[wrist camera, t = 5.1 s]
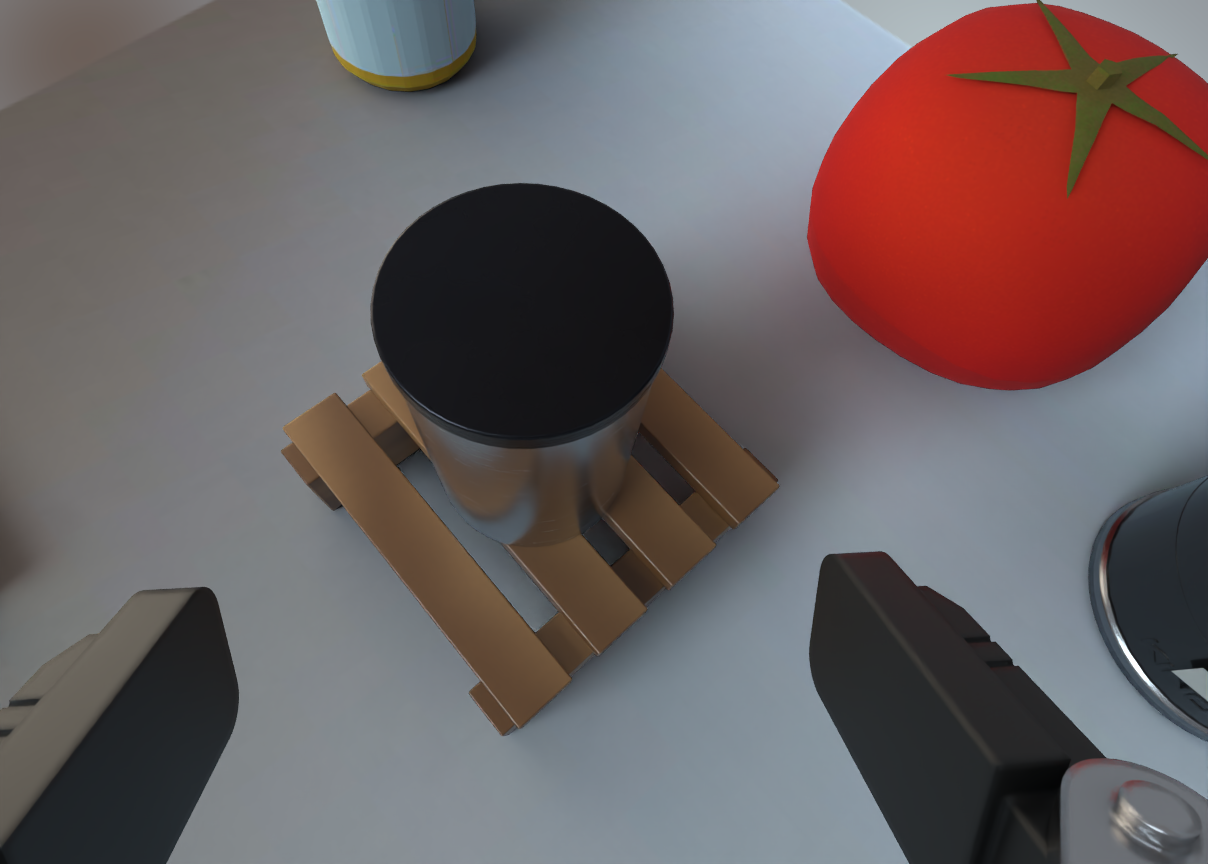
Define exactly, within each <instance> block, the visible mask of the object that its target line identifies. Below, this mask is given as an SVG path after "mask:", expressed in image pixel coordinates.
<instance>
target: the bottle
mask: <svg viewBox="0 0 1208 864" xmlns="http://www.w3.org/2000/svg"><path fill="white" fill-rule="evenodd" d="M316 1H317V4H318V7H319V10H320V13H321V16H322V20H323V23H324V26H325V29H326V32H327V35H328V38H329V41H330V43H331V45H332V48H333V52H334V54H335V56H336V58H337V59H338V60H339V61H340V63H341V64H342V65H343V66H344V68H346V69H347V70H348V71H349V72H351V73H353V74H354V75H356V76H357V77H359V78H360V79H362V80H364V81H366V82H368V83H370V84H372V85H374V86H377V87H381V88H384V89H387V90H391V91H408V92H410V91H417V90H422V89H429V88H432V87H434V86H436V85H438V84H441V83H443V82H446V81H447V80H449V79H450V78H451V77H452V76H453V75H455V74H456V73H457V72H458V71H459V70H460V69H461V68H462V67H463V66H464V65H465V64H466V63H467V61H468V60H469V58H470V57H471V55H472V53H473V51H474V49H475V46H476V36H477V33H476V18H475V8H474V0H316Z"/></svg>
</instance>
